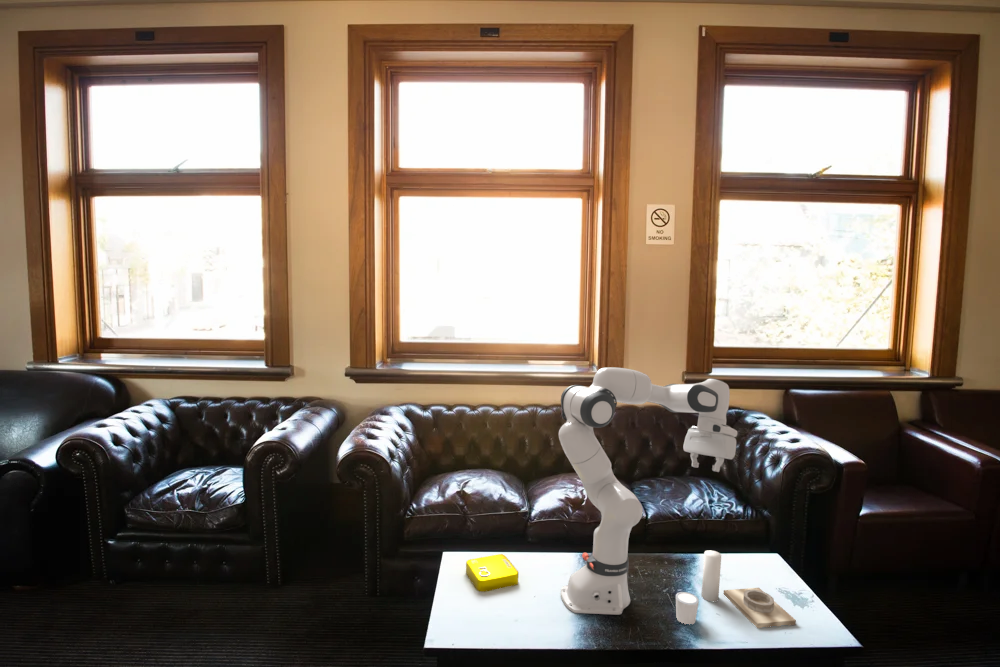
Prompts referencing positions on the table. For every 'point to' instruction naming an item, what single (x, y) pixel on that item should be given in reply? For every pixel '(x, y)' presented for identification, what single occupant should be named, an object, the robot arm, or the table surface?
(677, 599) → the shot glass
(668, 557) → the table surface
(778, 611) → the roll holder
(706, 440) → the robot arm
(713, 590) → the paper roll
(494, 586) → the element tile
